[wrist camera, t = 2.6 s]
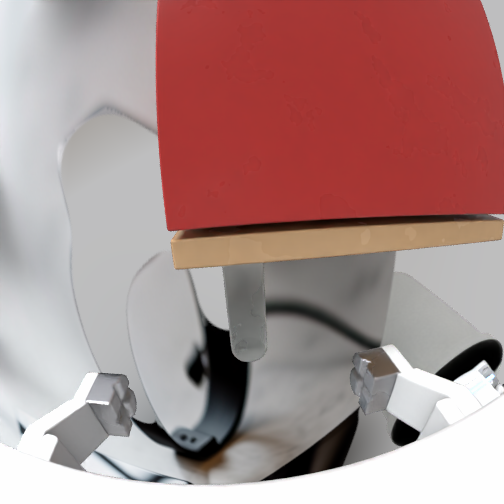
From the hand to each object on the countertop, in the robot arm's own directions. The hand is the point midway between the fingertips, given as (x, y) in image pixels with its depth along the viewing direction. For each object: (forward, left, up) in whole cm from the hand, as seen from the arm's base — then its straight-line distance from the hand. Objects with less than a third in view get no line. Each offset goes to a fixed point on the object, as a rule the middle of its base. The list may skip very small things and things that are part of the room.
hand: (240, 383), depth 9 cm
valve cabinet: (+1, -11, -15) cm, 19 cm away
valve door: (-3, -4, -15) cm, 16 cm away
